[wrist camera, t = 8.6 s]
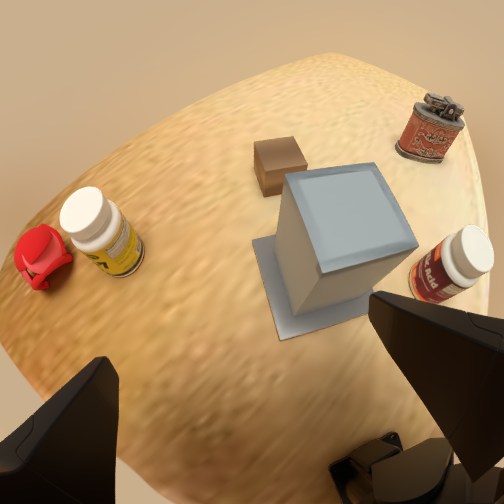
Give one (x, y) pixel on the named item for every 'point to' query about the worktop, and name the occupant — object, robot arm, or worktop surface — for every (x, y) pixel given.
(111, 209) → the supplement bottle
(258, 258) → the coaster
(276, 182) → the block
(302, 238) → the cover
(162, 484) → the worktop surface
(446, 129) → the lighter
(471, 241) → the pill bottle
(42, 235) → the red plastic curved piece
